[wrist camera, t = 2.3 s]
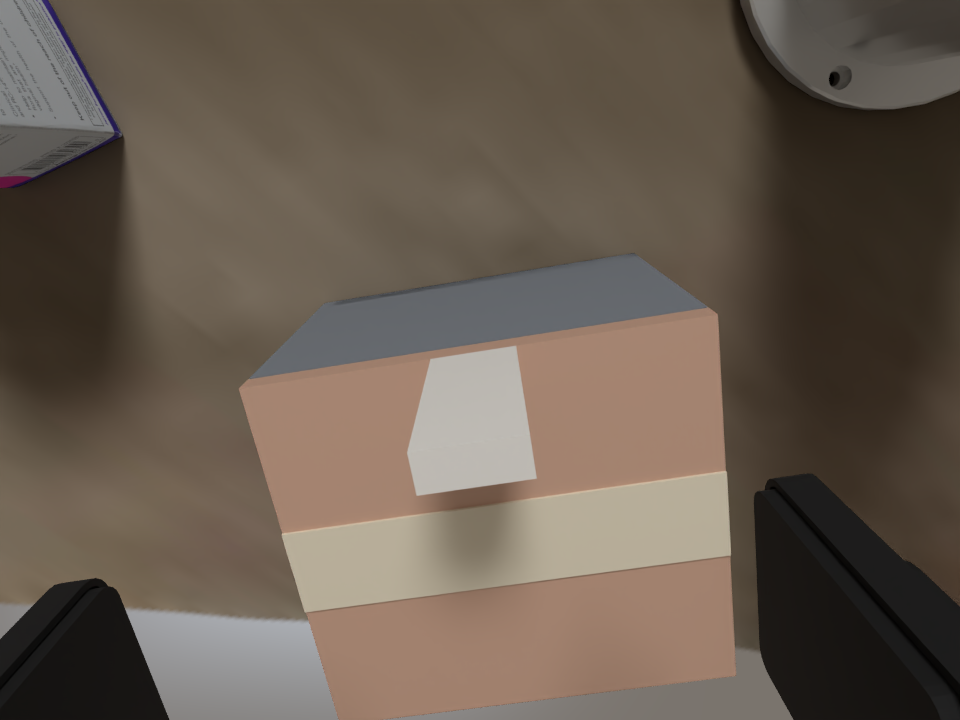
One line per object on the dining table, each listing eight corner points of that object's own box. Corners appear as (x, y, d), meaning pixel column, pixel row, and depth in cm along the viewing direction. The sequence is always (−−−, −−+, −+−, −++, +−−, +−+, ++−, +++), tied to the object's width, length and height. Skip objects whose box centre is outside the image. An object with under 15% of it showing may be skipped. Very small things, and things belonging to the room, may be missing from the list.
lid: (708, 307, 19) (823, 391, 13) (727, 658, 23) (822, 857, 17) (248, 379, 20) (134, 493, 13) (344, 706, 24) (293, 914, 17)
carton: (633, 253, 29) (707, 306, 19) (656, 508, 33) (726, 656, 23) (324, 303, 29) (249, 378, 20) (384, 546, 33) (345, 704, 24)
